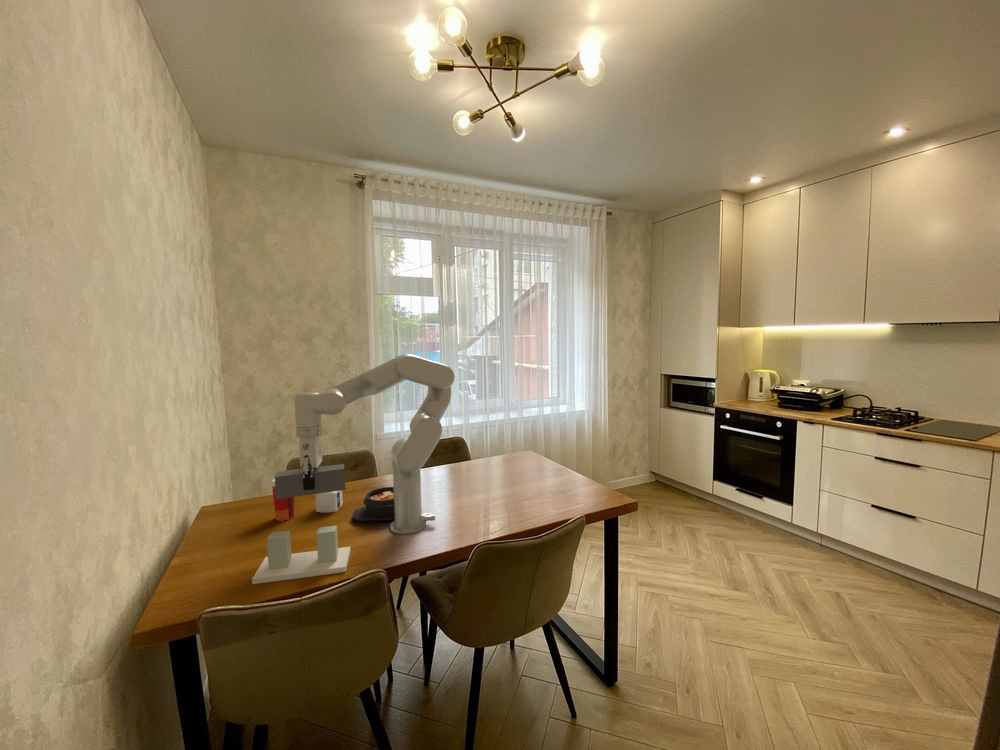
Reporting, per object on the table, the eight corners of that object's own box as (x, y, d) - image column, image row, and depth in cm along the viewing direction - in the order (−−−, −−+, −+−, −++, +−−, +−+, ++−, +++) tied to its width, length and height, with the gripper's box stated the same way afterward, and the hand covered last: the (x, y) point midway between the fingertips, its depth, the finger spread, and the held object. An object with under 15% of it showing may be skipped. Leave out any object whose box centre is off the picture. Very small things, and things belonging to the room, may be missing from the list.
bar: (344, 484, 139) (344, 463, 139) (345, 489, 134) (344, 468, 133) (278, 492, 132) (277, 471, 131) (276, 499, 126) (274, 477, 126)
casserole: (354, 531, 143) (354, 507, 142) (350, 511, 160) (349, 490, 159) (425, 517, 153) (425, 496, 153) (414, 500, 170) (413, 481, 170)
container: (343, 504, 167) (341, 473, 166) (336, 512, 159) (334, 479, 158) (323, 505, 167) (322, 473, 166) (315, 512, 159) (314, 480, 158)
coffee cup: (291, 511, 161) (289, 474, 159) (301, 517, 155) (299, 478, 154) (268, 518, 154) (266, 479, 153) (278, 524, 149) (275, 484, 148)
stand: (350, 551, 129) (349, 518, 128) (345, 571, 117) (344, 536, 117) (266, 561, 123) (264, 527, 123) (252, 584, 112) (249, 547, 111)
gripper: (316, 436, 124) (318, 494, 125) (326, 425, 141) (329, 476, 142) (288, 437, 122) (291, 496, 123) (303, 426, 139) (305, 478, 140)
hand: (311, 485), depth 133 cm, fingers closed on bar, 6 cm apart
